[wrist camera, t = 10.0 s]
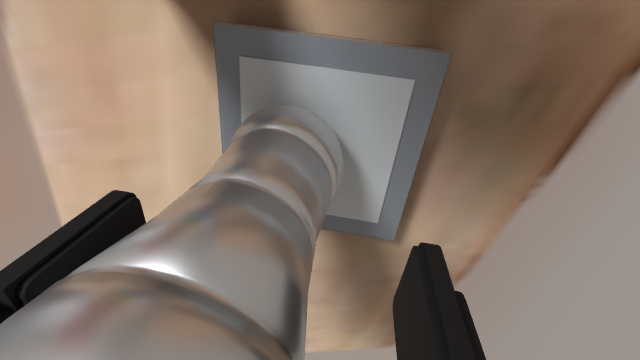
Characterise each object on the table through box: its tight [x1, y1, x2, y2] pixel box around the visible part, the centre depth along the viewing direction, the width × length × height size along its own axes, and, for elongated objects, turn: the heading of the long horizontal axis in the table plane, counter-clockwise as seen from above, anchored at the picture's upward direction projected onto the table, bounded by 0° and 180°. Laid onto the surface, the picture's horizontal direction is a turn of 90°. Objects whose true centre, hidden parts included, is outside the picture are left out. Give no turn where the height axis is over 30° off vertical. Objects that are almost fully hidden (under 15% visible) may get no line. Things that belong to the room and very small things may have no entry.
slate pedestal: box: [213, 23, 451, 241], centre depth 20 cm, size 13×13×3 cm
